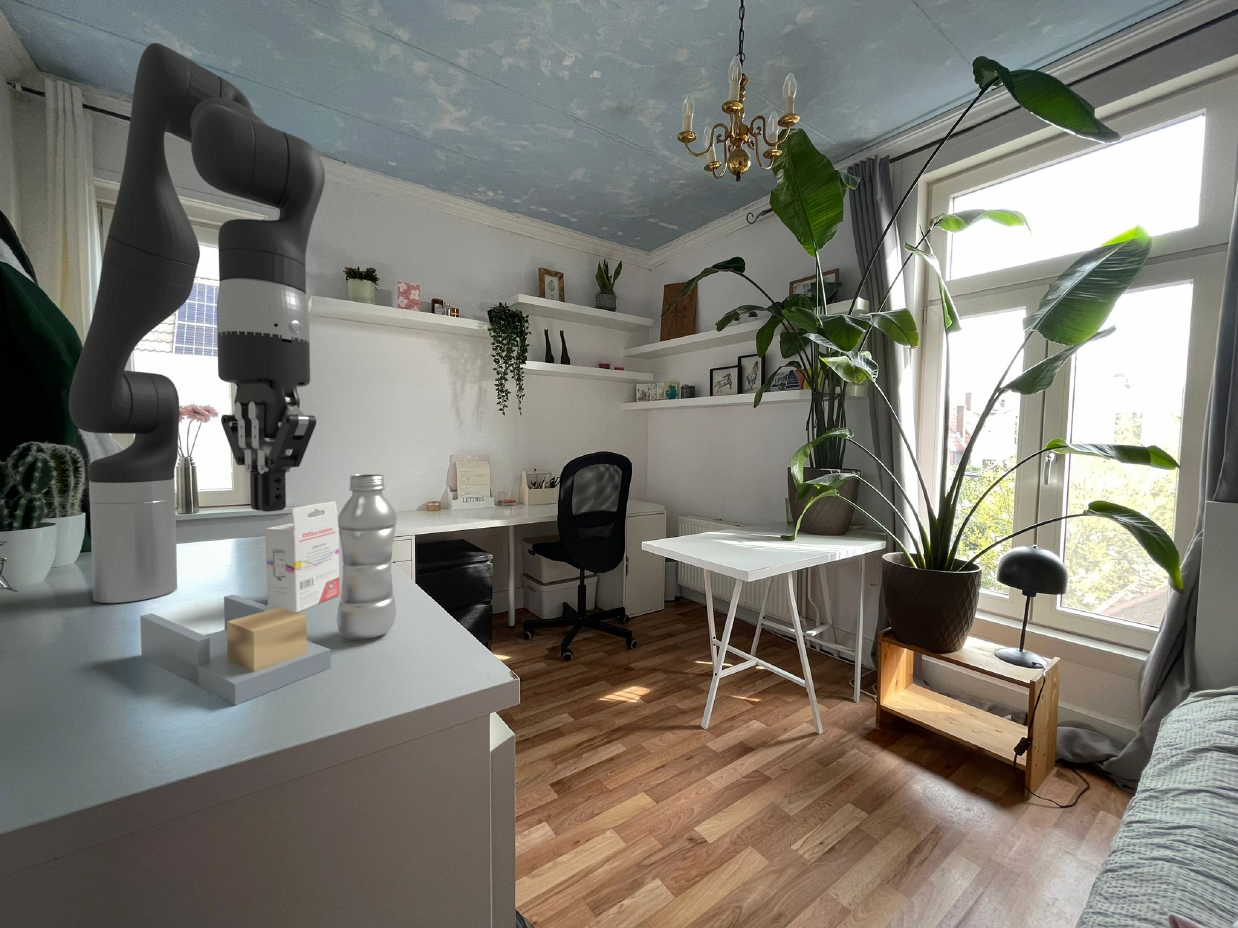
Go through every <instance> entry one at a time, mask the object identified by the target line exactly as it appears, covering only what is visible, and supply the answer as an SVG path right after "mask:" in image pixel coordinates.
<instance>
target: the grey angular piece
mask: <svg viewBox="0 0 1238 928" xmlns="http://www.w3.org/2000/svg"><path fill="white" fill-rule="evenodd" d="M223 606H224V612H223V613H224V629H223V630H220V631H219V630H218V631H216V632H212V633H209V634H205V635H203V634H202V633H199V632H197V631H195V630H193V629H190V628H188V627H185V626H183V625H180V624H178V623H176V622H175V621H171V620H169V619H166V618H164V617H163V616H159V615H157V614H155V613H152V612H151V613H147V614H143V615H140V618H139V619H140V623H139V624H140V644H141V645H140V650H141V651H140V652H141V657H143V658H145V659H147V660H149V661H150V662H152V663H155V664H156V665H158V666H160V667H162V668H163V669H166V670H168V671H170V672H171V673H173V674H176V675H177V676H179V677H180V678H182V679H185V680H186V681H189V682H191V683H192V684H195V685H196V686H198V687H200V688H202V689H203V690H205V691H208V692H210V693H211V694H213V695H214V696H215V695H216V696H217V697H219V698H221V699H223V700H225V701H227V702H228V703H230V704H232V705H235V706H237V705H240V704H242V703H245V702H247V701H249V700H252V699H255V698H257V697H259V696H262V695H264V694H267V693H270V692H272V691H274V690H277V689H280V688H283V687H285V686H287V685H289V684H292V683H295V682H298V681H300V680H302V679H305V678H307V677H310V676H312V675H315V674H318V673H320V672H322V671H326V670H328V669H330V668H331V648H328V647H326V646H322V645H320V644H317V643H314V642H312V641H309V640H307V654H304V655H301V656H298V657H295V658H293V659H290V660H287V661H284V662H282V663H279V664H276V665H273V666H270V667H268V668H265V669H262V670H259V671H256V672H253V671H251V670H248V669H246V668H244V667H242V666H239V665H237V664H235V663H233V662H230V661H228V653H227V621H230V620H234V619H238V618H242V617H245V616H249V615H253V614H257V613H260V612H264V611H268V610H271V609H275V608H273V607H270V606H268V604H263V603H260V602H257V601H254V600H251V599H248V598H246V597H242V596H238V595H236V594H230V595H225V596H224V597H223Z"/></svg>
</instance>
